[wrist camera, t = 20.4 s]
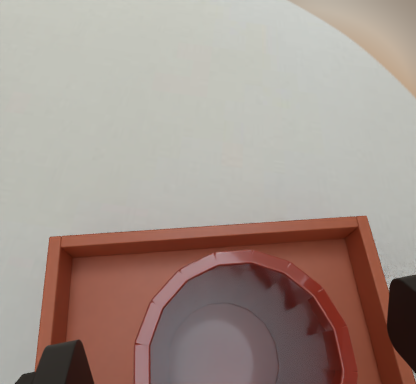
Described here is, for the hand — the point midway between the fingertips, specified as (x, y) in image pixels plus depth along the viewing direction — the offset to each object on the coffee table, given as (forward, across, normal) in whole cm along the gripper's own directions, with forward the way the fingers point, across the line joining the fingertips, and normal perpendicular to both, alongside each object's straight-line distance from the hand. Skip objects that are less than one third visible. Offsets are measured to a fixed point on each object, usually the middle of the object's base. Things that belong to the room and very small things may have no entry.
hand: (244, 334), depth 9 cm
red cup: (+6, 0, +7) cm, 9 cm away
